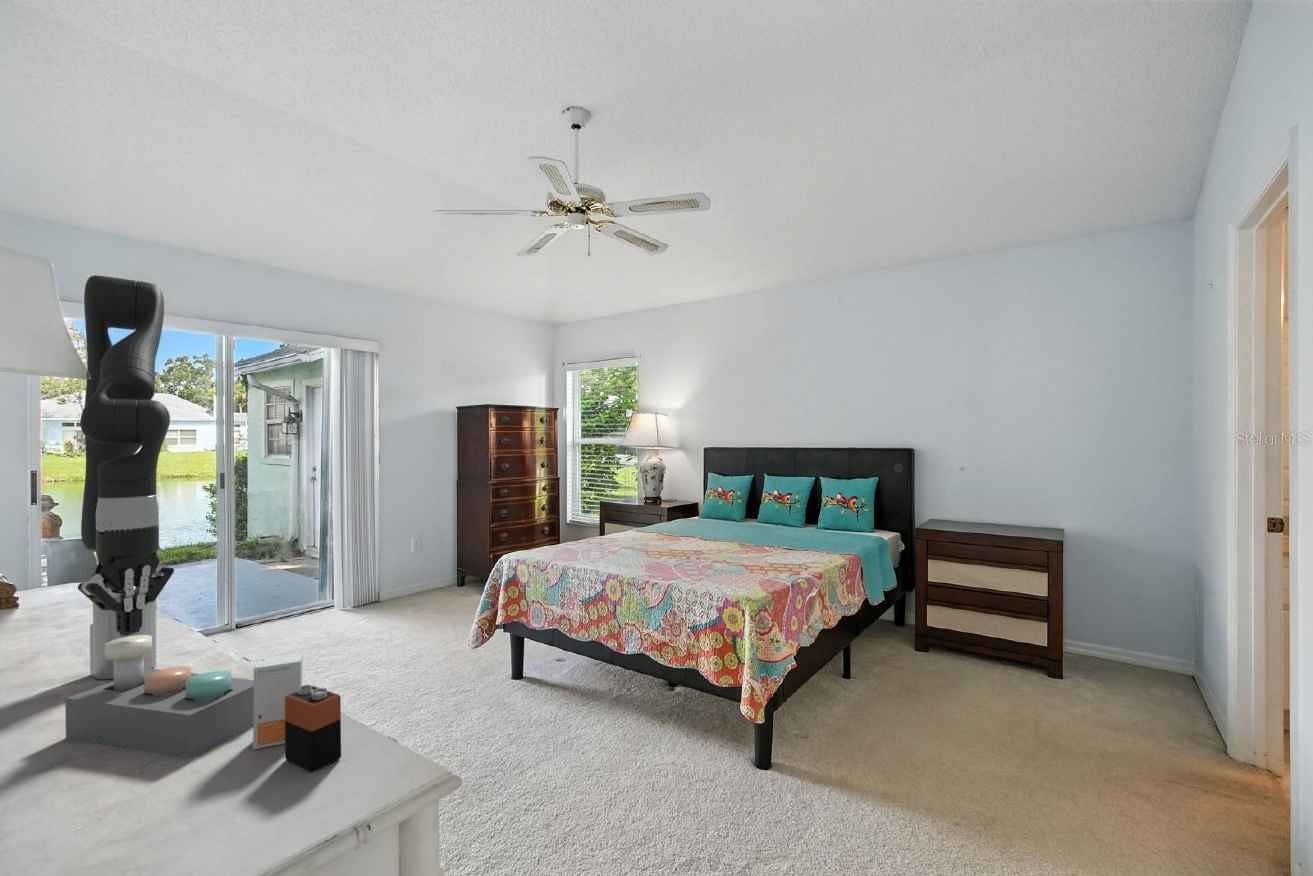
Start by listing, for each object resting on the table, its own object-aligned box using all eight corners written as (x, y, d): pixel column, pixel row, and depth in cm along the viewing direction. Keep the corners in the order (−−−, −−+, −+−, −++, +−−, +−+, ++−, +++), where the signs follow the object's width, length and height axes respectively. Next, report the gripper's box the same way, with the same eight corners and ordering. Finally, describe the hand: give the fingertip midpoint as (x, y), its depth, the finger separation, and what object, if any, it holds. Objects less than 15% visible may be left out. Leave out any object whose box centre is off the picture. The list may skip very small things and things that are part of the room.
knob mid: (135, 727, 91) (134, 678, 91) (172, 711, 97) (172, 665, 97) (163, 732, 90) (163, 682, 90) (200, 715, 95) (199, 668, 95)
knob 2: (176, 733, 89) (175, 683, 89) (212, 716, 95) (211, 669, 95) (205, 738, 88) (205, 687, 88) (240, 720, 94) (240, 672, 94)
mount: (65, 738, 90) (65, 698, 90) (150, 703, 102) (149, 668, 102) (190, 757, 85) (190, 715, 85) (264, 718, 96) (264, 681, 96)
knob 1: (95, 693, 93) (95, 645, 93) (134, 679, 99) (134, 633, 99) (123, 697, 92) (122, 648, 92) (161, 682, 97) (160, 636, 97)
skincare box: (252, 751, 86) (252, 668, 86) (256, 738, 90) (256, 658, 90) (301, 741, 89) (301, 660, 89) (303, 729, 93) (302, 651, 93)
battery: (311, 774, 80) (311, 699, 80) (283, 760, 84) (283, 689, 84) (342, 759, 84) (342, 687, 84) (314, 746, 88) (314, 678, 88)
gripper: (153, 518, 103) (154, 620, 103) (60, 530, 90) (62, 646, 90) (188, 519, 101) (189, 622, 101) (98, 531, 88) (99, 649, 88)
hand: (129, 633), depth 95 cm, fingers closed
